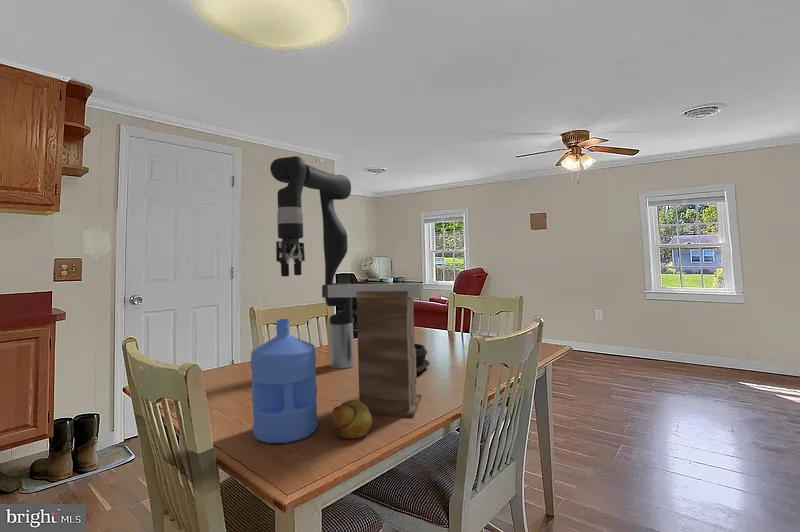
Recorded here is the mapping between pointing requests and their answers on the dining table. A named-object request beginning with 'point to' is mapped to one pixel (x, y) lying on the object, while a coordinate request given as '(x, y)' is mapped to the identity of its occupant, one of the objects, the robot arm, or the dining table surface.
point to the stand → (386, 353)
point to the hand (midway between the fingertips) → (291, 275)
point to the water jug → (284, 388)
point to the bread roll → (352, 419)
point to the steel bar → (369, 289)
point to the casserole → (420, 358)
